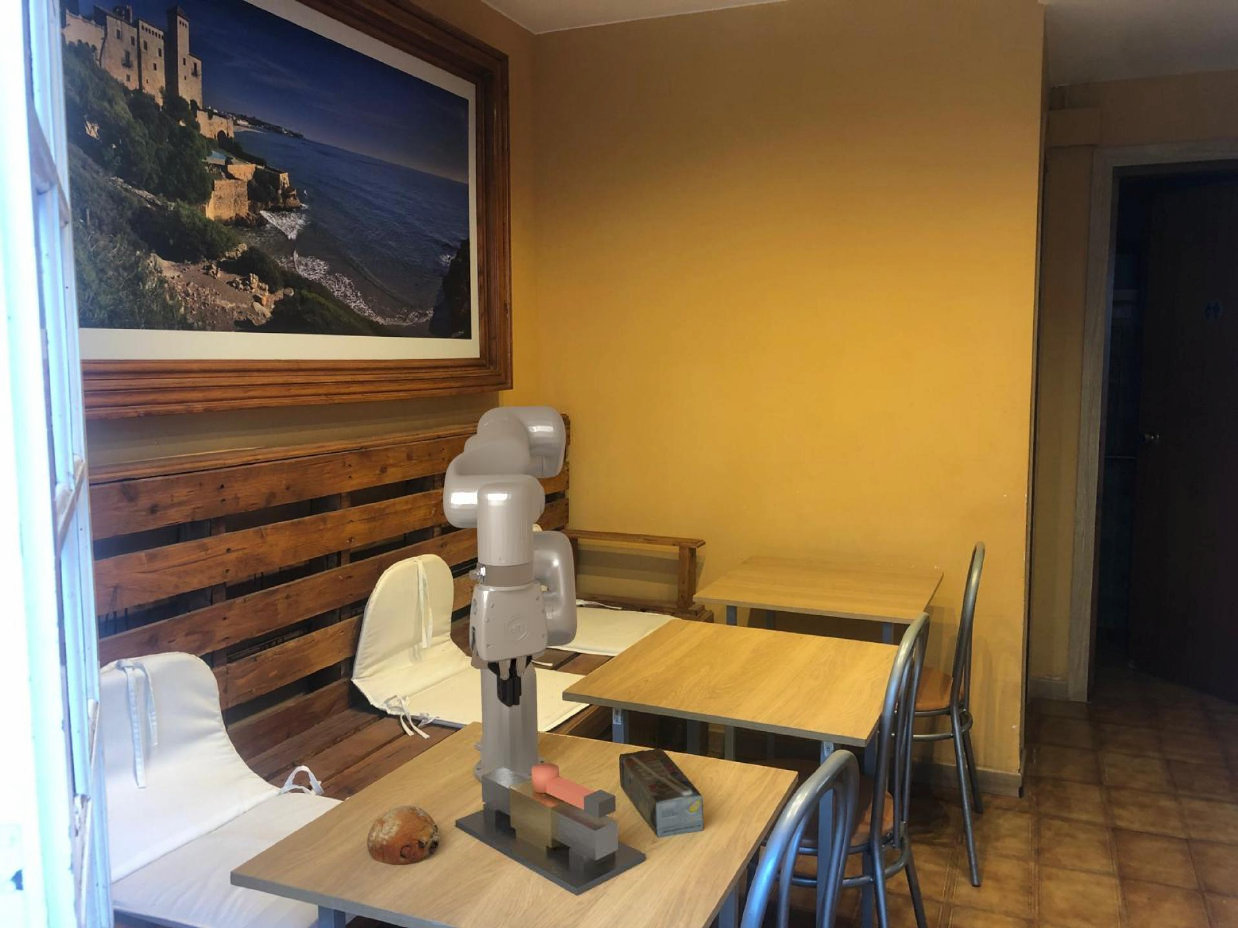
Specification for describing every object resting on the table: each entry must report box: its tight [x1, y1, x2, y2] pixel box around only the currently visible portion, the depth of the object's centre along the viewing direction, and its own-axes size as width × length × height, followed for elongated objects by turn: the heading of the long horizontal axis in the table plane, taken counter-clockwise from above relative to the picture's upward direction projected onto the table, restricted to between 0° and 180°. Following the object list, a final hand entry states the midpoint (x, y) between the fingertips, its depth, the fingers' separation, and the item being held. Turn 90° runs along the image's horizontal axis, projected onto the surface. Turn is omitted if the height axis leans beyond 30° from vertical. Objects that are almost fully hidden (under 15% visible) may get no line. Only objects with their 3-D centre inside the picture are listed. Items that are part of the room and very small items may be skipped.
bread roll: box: [366, 805, 441, 866], centre depth 144 cm, size 10×10×8 cm
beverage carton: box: [618, 747, 704, 839], centre depth 157 cm, size 8×19×7 cm, turn 17°
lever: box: [532, 762, 617, 819], centre depth 141 cm, size 15×4×3 cm, turn 45°
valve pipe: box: [454, 768, 646, 896], centre depth 145 cm, size 28×13×8 cm, turn 44°
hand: (509, 702), depth 137 cm, fingers closed
